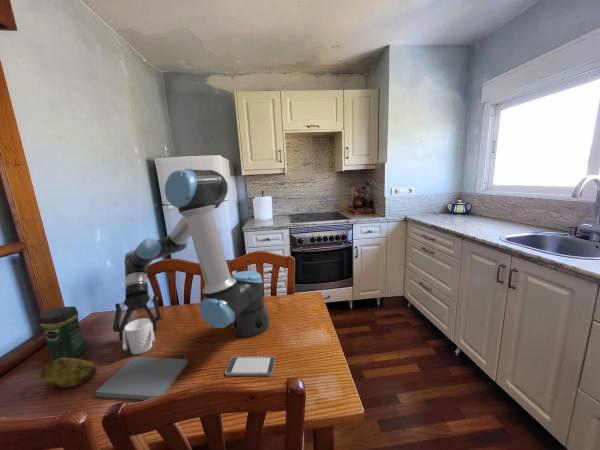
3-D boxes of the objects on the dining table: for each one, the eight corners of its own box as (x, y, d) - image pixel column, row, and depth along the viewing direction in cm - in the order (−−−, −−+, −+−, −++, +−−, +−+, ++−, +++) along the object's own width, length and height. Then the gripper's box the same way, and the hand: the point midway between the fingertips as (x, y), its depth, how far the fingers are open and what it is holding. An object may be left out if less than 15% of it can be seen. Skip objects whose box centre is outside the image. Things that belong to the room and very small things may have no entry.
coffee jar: (91, 347, 92) (81, 302, 88) (71, 362, 84) (59, 314, 80) (67, 347, 92) (55, 303, 88) (45, 363, 84) (31, 315, 81)
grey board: (187, 363, 81) (187, 359, 81) (159, 401, 67) (158, 396, 67) (134, 360, 84) (133, 356, 83) (96, 396, 70) (95, 391, 70)
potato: (75, 395, 70) (68, 372, 69) (38, 392, 72) (31, 369, 71) (101, 373, 78) (96, 351, 77) (68, 370, 80) (62, 349, 79)
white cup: (137, 342, 93) (132, 318, 91) (158, 340, 94) (154, 317, 92) (124, 357, 85) (119, 331, 84) (147, 354, 86) (142, 329, 84)
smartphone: (231, 356, 82) (275, 356, 81) (232, 359, 82) (275, 359, 82) (224, 373, 75) (271, 373, 74) (224, 376, 75) (272, 376, 74)
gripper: (166, 284, 104) (172, 337, 93) (107, 296, 95) (106, 357, 84) (164, 276, 99) (170, 332, 88) (101, 289, 89) (99, 353, 78)
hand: (139, 345), depth 86 cm, fingers closed on white cup, 8 cm apart
